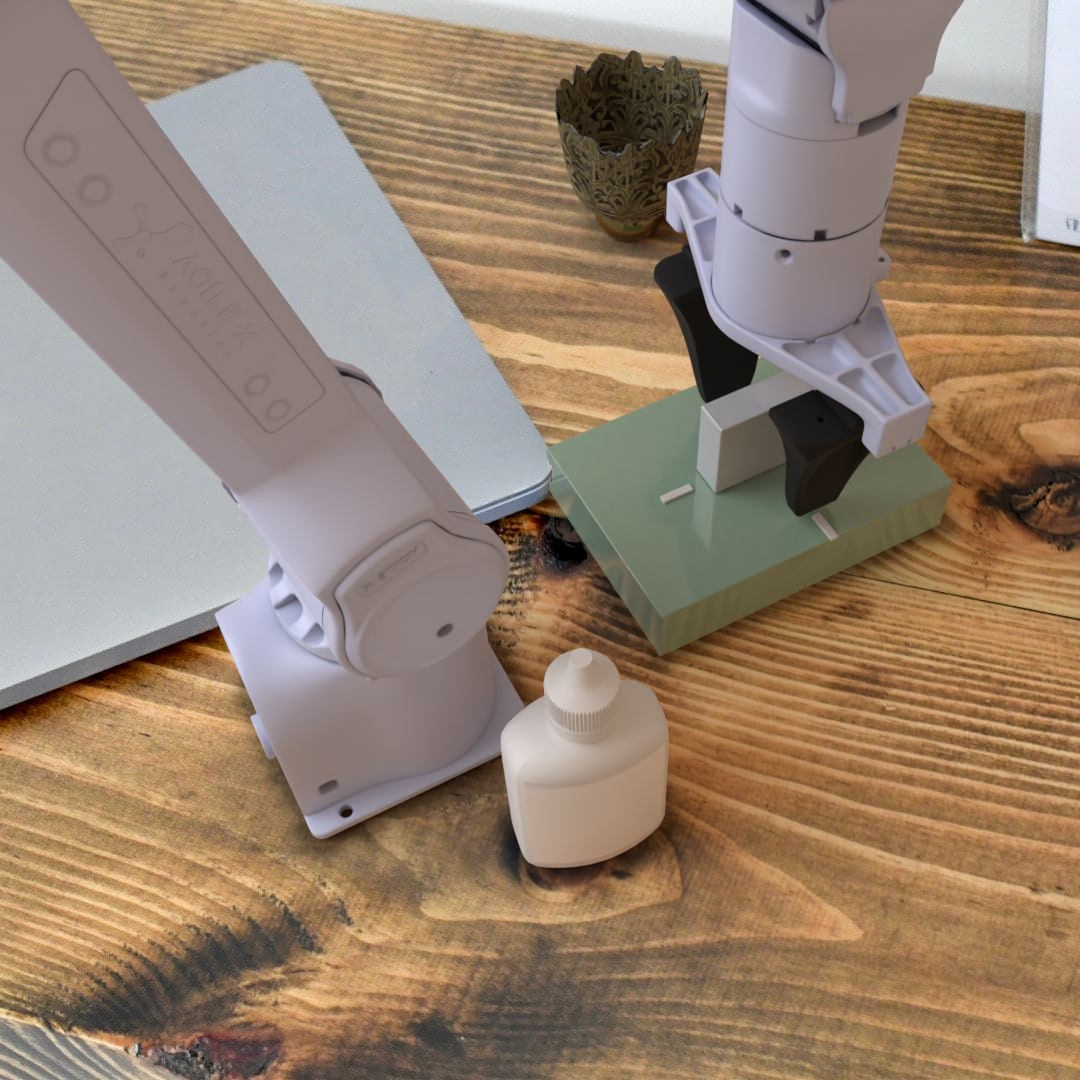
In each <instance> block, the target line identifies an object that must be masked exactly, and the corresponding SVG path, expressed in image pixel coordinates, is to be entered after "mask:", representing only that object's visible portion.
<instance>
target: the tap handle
mask: <svg viewBox="0 0 1080 1080" xmlns="http://www.w3.org/2000/svg"><path fill="white" fill-rule="evenodd" d="M813 389H814V390H817V389H816V388H814V387H812V386H811V385H809V384H807V383H805V382H804V381H802V380H800V379H799V378H797V377H795V376H793V375H792V374H790V373H788V372H787V371H785V370H784V371H782V372H779V373H777V374H775V375H772V376H770V377H768V378H765V379H763V380H761V381H758V382H756V383H754V384H751V385H749V386H747V387H744V388H742V389H739V390H737V391H735V392H732V393H730V394H728V395H725V396H723V397H721V398H718V399H716V400H714V401H711V402H709V403H707V404H704V405H702V406H701V415H700V429H699V442H698V455H697V470H698V471H699V472H700V474H701V475H702V476H703V478H704V479H705V480H706V482H707V483H708V484H709V485H710V487H711V488H712V489H713V491H714V492H715V493H718V492H720V491H722V490H725V489H727V488H729V487H731V486H734V485H736V484H738V483H740V482H743V481H745V480H747V479H749V478H752V477H754V476H756V475H758V474H761V473H763V472H765V471H767V470H770V469H772V468H774V467H776V466H779V465H781V464H783V463H785V462H786V458H785V451H784V446H783V443H782V439H781V437H780V434H779V432H778V429H777V428H776V426H775V424H774V423H773V421H772V420H771V418H770V417H769V416H768V415H769V409H770V408H771V407H774V406H776V405H778V404H781V403H783V402H785V401H788V400H790V399H792V398H795V397H797V396H799V395H802V394H804V393H806V392H808V391H811V390H813Z"/></svg>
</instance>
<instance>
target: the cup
mask: <svg viewBox="0 0 1080 1080" xmlns="http://www.w3.org/2000/svg"><path fill="white" fill-rule="evenodd" d="M642 58H643V55H642V53H640V52H639V51H636V50H633V49H632V50H630V51H628V53H627V54H626V56H625V57H624V59H623V58H621V57H620V56H618V55H617V54H613V53H607V52H601V53H599V54H598V55H597V56H596V57H595V59H594V60H593V61H592V63H591V64H590V66H589V68H588V69H587V70H585V69H586V67H584V66H580V65H578V64H575V65H574V67H573V71H572V82H571V80H570V79H568V78H561V79H560V81H559V83H558V87H556V88H555V92H554V93H555V107H554V109H555V110H554V113H555V116H556V121H557V126H558V127H557V128H558V134H559V139H560V143H561V144H560V145H561V151H562V155H563V160H564V166H565V169H566V173H567V176H568V180H569V182H570V185H571V188H572V190H573V192H574V193H575V195H576V197H577V199H578V200H579V201H580V202H581V204H582V205H583V206H584V207H585V208H586V209H588V210H589V211H590V212H591V213H593V214H594V217H595V220H596V222H597V225H598V226H599V227H600V229H601V231H602V232H603V233H605V234H606V235H607V236H609V237H610V238H613V239H615V240H619V241H622V242H623V241H624V242H635V241H640V240H644V239H647V238H648V237H650V236H652V235H653V234H654V233H655V232H657V230H658V229H659V228H660V226H661V224H662V223H663V220H665V219H664V218H665V217H666V216H665V215H666V210H667V184H668V183H669V182H671V181H674V180H676V179H679V178H682V177H684V176H687V175H690V174H692V173H694V171H695V167H696V163H697V158H698V154H699V150H700V145H701V139H702V135H703V130H704V124H705V119H706V114H707V108H708V105H707V104H708V99H709V90H708V89H703V82H702V81H703V80H702V78H701V74H700V72H699V70H698V68H685V69H683V67H682V62H681V61H680V60H679V58H678V57H677V56H675V55H670V57H668V58H667V59H665V60H664V62H663V65H662V67H661V69H659V68H658V67H657V66H656V64H651V65H650V66H644V63H643V59H642Z"/></svg>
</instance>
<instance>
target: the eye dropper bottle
mask: <svg viewBox="0 0 1080 1080" xmlns="http://www.w3.org/2000/svg"><path fill="white" fill-rule="evenodd" d="M543 693H544V695H542V696H540V697H539V698H537V699H535V700H534V701H532V702H531V703H530V704H528V705H526V706H525V708H524V709H523V710H522V711H520V712H519V713H518V714H517V715H516V716H515V717H514V718H512V719H511V721H510V722H509V723H508V724H507V725H506V726H505V728H504V730H503V731H502V733H501V752H502V755H501V761H502V766H503V773H504V780H505V787H506V793H507V799H508V807H509V812H510V820H511V824H512V827H513V830H514V834H515V837H516V840H517V844H518V846H519V849H520V851H521V854H522V856H523V858H524V860H526V862H527V863H529V864H531V865H533V866H536V867H539V868H550V869H553V868H554V869H564V868H567V869H568V868H577V867H583V866H589V865H593V864H596V863H597V864H598V863H600V862H604V861H607V860H609V859H612V858H615V857H616V856H617V857H618V856H619V855H621V854H623V853H625V852H627V851H629V850H630V849H632V848H634V847H636V846H637V845H638V844H640V843H641V842H642V841H644V840H645V839H646V838H648V837H649V836H650V835H651V834H653V833H654V832H655V831H656V829H658V828H659V827H660V826H661V824H662V822H663V820H664V818H665V814H666V799H667V787H668V786H667V785H668V783H667V782H668V768H669V766H668V765H669V747H670V745H669V743H670V739H669V738H670V734H669V733H670V732H669V724H668V720H667V718H666V714H665V713H664V710H663V708H662V706H661V703H660V700H659V699H658V696H657V695H656V693H655V691H654V690H653V689H652V688H651V687H650V686H649V685H647V684H644V683H642V682H639V681H634V680H630V679H629V680H627V679H621V676H620V672H619V669H617V666H616V665H615V663H614V662H613V661H612V659H611V660H610V657H607V655H604V654H603V653H601V652H600V651H597V650H593V649H588V648H584V647H578V648H575V649H572V650H568V651H565V652H564V653H561V654H560V655H558V656H557V657H555V658H554V660H552V662H551V663H550V664H549V665H548V666H547V669H546V672H545V673H544V676H543Z"/></svg>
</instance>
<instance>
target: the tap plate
mask: <svg viewBox="0 0 1080 1080" xmlns="http://www.w3.org/2000/svg"><path fill="white" fill-rule="evenodd" d="M782 371H784V370H783V369H781V368H780V367H778V366H776V365H775V364H773V363H771V362H769V361H768V360H766V359H764V358H763V357H761V356H760V357H758V362H757V366H756V370H755V374H754V377H753V379H752V382H751V384H754V383H756V382H758V381H761V380H763V379H765V378H768V377H770V376H772V375H775V374H777V373H779V372H782ZM751 384H750V385H751ZM704 404H706V403H705V402H704V401H703V399H702V398H701V396H700V394H699V391H698V388H697V384H695V385H693V386H690V387H687V388H685V389H683V390H681V391H679V392H676V393H674V394H671V395H668V396H666V397H664V398H661V399H659V400H657V401H654V402H652V403H649V404H646V405H644V406H642V407H640V408H638V409H636V410H635V409H634V410H633V411H630V412H628V413H626V414H624V415H621V416H619V417H616V418H613V419H612V420H609V421H607V422H605V423H602V424H599V425H597V426H595V427H593V428H592V427H591V428H590V429H588V430H585V431H582V432H581V433H579V434H576V435H573V436H571V437H568V438H566V439H564V440H562V441H559V442H557V443H554V444H552V445H550V446H548V447H547V446H546V448H545V449H546V460H547V459H548V460H549V464H550V466H551V465H552V482H551V480H550V481H549V480H548V490H549V492H550V494H551V496H552V497H553V498H554V500H555V502H556V503H557V504H558V506H559V507H560V509H561V510H562V512H563V513H564V515H565V516H566V518H567V519H568V521H569V522H570V524H571V525H572V527H573V528H574V530H575V532H576V533H577V534H578V536H579V537H580V539H581V541H582V542H583V544H584V545H585V546H586V548H587V550H588V551H589V553H590V554H591V556H592V557H593V558H594V560H595V561H596V564H598V566H599V567H600V569H601V571H602V572H603V574H604V575H605V577H606V578H607V579H608V581H609V583H610V584H611V585H612V587H613V588H614V590H615V592H616V593H617V595H618V596H619V598H620V599H621V600H622V602H623V604H624V605H625V607H626V608H627V610H628V611H629V613H630V614H631V616H632V617H633V619H634V621H636V623H637V625H638V626H639V628H640V629H641V631H642V632H643V633H644V636H646V639H647V640H648V641H649V643H650V644H651V645H652V647H653V649H654V651H656V653H657V655H658V656H659V657H663V656H665V655H667V654H669V653H672V652H674V651H676V650H678V649H680V648H682V647H685V646H686V645H689V644H691V643H693V642H695V641H697V640H699V639H701V638H704V637H705V636H708V635H709V634H712V633H714V632H717V631H718V630H720V629H723V628H724V627H727V626H729V625H731V624H732V623H733V624H734V623H735V622H738V621H740V620H741V619H744V618H745V617H748V616H750V615H752V614H754V613H756V612H758V611H761V610H763V609H765V608H767V607H768V606H771V605H773V604H775V603H777V602H780V601H781V600H784V599H786V598H788V597H790V596H792V595H794V594H796V593H798V592H800V591H802V590H805V589H806V588H809V587H811V586H813V585H815V584H818V583H820V582H822V581H824V580H826V579H828V578H830V577H832V576H835V575H837V574H838V573H841V572H842V571H845V570H848V569H849V568H851V567H853V566H855V565H857V564H860V563H862V562H864V561H867V560H868V559H870V558H872V557H875V556H876V555H879V554H881V553H883V552H885V551H887V550H889V549H891V548H894V547H895V546H898V545H901V544H903V543H904V542H906V541H908V540H910V539H913V538H915V537H917V536H919V535H920V534H923V533H926V532H927V531H929V530H932V529H933V528H935V527H938V526H940V524H941V521H942V518H943V514H944V512H945V509H946V506H947V503H948V500H949V496H950V495H951V491H952V488H953V485H954V481H953V480H952V479H951V477H950V476H949V475H948V474H947V473H946V472H945V471H944V470H943V469H942V468H941V467H940V465H938V463H936V461H935V460H934V459H933V458H932V457H931V456H930V454H928V453H927V451H926V450H925V449H924V448H923V447H922V446H921V445H920V444H919V443H918V441H916V442H913V443H911V444H909V445H908V446H906V447H903V448H901V449H899V450H897V451H895V452H891V453H889V454H887V455H885V456H883V457H880V458H876V457H875V456H874V455H873V454H872V453H871V452H870V453H869V455H868V456H867V457H866V458H865V459H864V460H863V461H862V463H861V464H860V465H859V467H858V468H857V469H856V470H855V472H854V473H853V475H852V476H851V478H850V479H849V481H848V482H847V484H846V485H845V487H844V489H843V490H842V492H841V493H840V495H839V497H838V499H837V500H836V501H834V502H831V503H829V504H827V505H825V506H823V507H820V508H818V509H816V510H814V511H812V512H809V513H807V514H805V515H803V516H801V517H798V516H796V515H795V514H794V513H793V512H792V510H791V509H790V508H789V507H788V504H787V501H786V497H785V476H786V462H785V463H783V464H781V465H779V466H776V467H774V468H772V469H770V470H767V471H765V472H763V473H761V474H758V475H756V476H754V477H752V478H749V479H747V480H745V481H743V482H740V483H738V484H736V485H734V486H731V487H729V488H727V489H725V490H722V491H720V492H718V493H715V492H714V491H713V489H712V488H711V487H710V485H709V484H708V483H707V482H706V480H705V479H704V478H703V476H702V475H701V474H700V472H699V471H698V470H697V455H698V442H699V429H700V415H701V406H702V405H704Z"/></svg>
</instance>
